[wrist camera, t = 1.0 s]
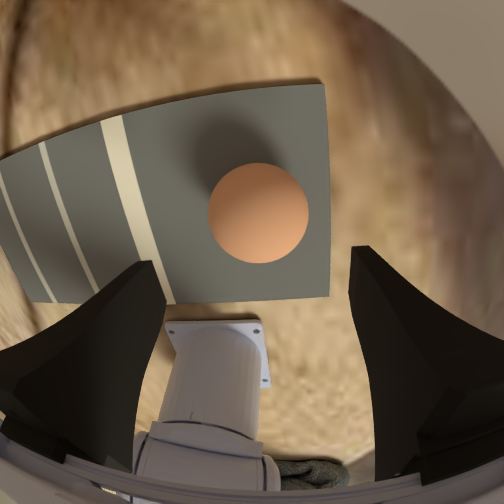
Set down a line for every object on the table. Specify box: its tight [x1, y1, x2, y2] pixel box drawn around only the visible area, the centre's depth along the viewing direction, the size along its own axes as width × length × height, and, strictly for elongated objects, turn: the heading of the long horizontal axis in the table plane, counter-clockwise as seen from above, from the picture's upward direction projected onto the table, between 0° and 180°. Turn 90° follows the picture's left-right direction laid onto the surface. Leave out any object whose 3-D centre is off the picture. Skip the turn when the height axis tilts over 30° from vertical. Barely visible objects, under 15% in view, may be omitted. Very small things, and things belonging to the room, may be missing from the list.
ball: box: [208, 163, 309, 263], centre depth 15 cm, size 5×5×5 cm
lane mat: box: [0, 84, 331, 304], centre depth 19 cm, size 14×28×1 cm, turn 97°
